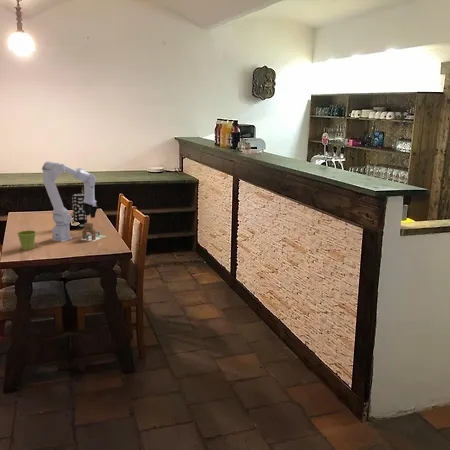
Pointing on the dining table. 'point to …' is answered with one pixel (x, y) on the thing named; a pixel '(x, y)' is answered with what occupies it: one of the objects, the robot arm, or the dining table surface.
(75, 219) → the white-spotted black cylinder
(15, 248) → the dining table surface
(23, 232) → the plant pot
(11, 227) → the dining table surface
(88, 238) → the buzz wire board
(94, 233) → the stepped wooden block
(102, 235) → the end pad
